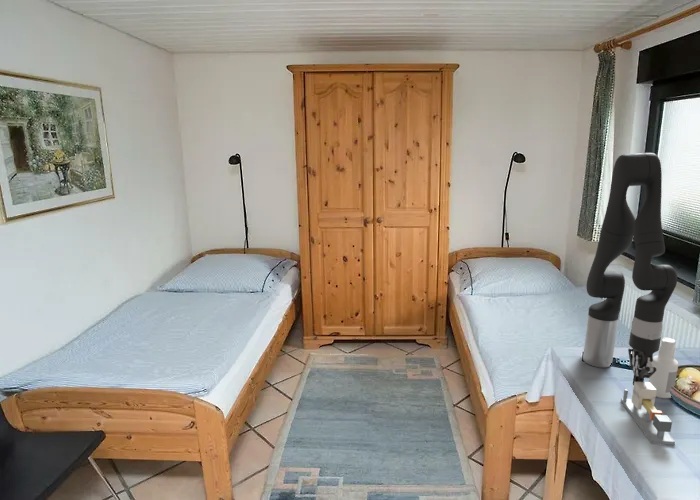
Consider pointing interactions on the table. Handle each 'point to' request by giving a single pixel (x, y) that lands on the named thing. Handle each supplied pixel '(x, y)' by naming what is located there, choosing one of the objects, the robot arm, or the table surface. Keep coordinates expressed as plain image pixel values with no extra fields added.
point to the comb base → (646, 423)
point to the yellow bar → (657, 417)
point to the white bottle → (664, 368)
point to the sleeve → (643, 393)
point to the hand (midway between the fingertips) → (637, 386)
